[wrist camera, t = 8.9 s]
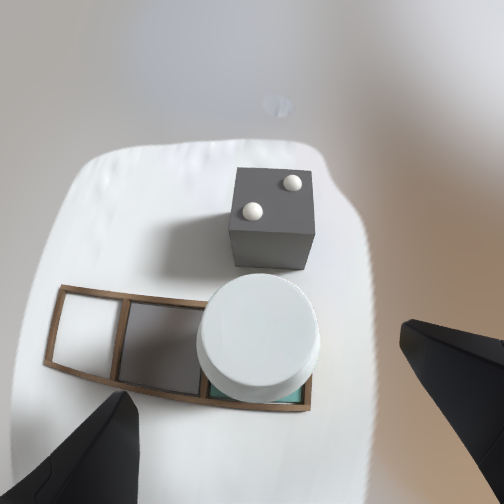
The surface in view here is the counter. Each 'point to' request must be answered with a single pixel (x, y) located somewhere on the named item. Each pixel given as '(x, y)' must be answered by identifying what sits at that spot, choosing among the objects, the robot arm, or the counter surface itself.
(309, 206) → the die
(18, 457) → the counter surface
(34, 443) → the counter surface
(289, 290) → the supplement bottle
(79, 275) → the counter surface
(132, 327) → the board
